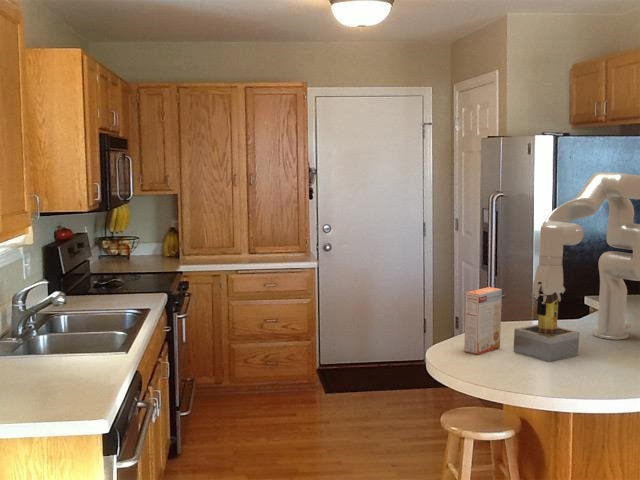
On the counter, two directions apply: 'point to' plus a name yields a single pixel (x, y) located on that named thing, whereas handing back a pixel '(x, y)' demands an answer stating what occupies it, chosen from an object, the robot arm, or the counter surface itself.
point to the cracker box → (482, 320)
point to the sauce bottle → (549, 315)
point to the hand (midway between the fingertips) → (548, 313)
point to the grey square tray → (546, 343)
